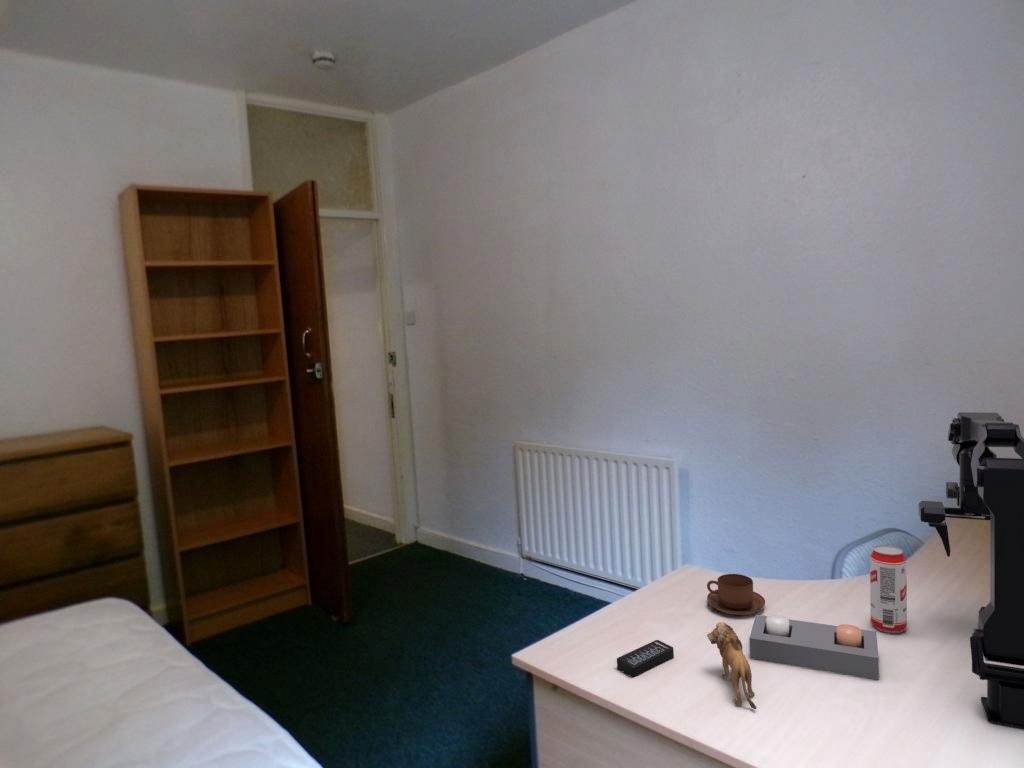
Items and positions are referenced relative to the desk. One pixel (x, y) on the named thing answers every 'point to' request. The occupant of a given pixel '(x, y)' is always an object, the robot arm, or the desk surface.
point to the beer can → (888, 589)
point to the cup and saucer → (735, 595)
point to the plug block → (815, 648)
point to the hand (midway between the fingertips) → (977, 558)
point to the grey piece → (777, 625)
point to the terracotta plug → (849, 636)
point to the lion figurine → (733, 660)
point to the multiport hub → (645, 658)
